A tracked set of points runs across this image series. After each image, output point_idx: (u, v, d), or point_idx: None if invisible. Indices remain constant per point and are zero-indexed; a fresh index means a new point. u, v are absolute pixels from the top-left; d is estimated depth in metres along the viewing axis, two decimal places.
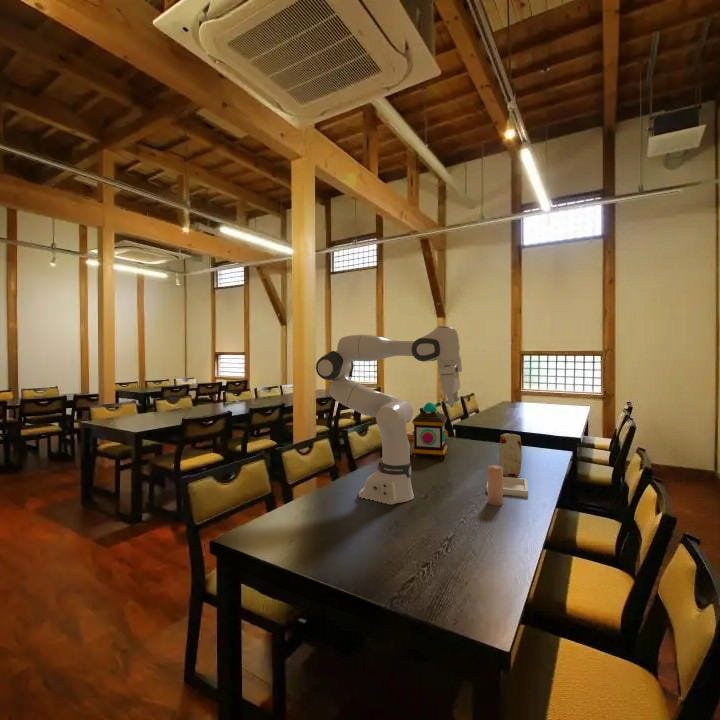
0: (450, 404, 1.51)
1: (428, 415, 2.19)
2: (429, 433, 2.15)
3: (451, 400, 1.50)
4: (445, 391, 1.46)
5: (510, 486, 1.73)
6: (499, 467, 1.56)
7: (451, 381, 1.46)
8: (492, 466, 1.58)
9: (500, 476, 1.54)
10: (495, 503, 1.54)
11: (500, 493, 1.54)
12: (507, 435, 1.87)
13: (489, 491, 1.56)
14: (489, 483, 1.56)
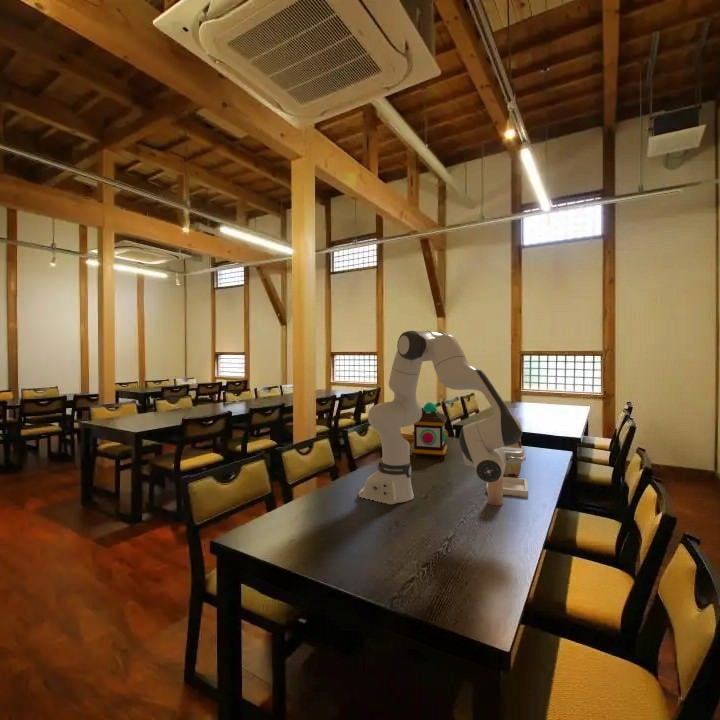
0: None
1: (428, 415, 2.19)
2: (429, 433, 2.15)
3: None
4: None
5: (510, 486, 1.73)
6: None
7: None
8: None
9: None
10: (495, 503, 1.54)
11: (500, 493, 1.54)
12: None
13: (489, 491, 1.56)
14: (489, 483, 1.56)
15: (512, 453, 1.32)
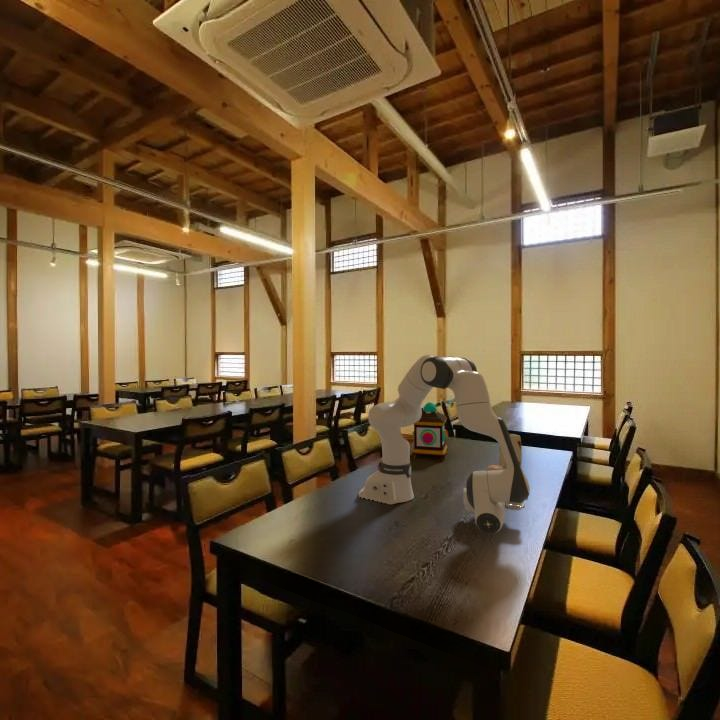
0: None
1: (428, 415, 2.19)
2: (429, 433, 2.15)
3: None
4: None
5: None
6: (499, 467, 1.56)
7: (463, 500, 1.43)
8: (492, 466, 1.58)
9: None
10: None
11: None
12: None
13: None
14: None
15: None
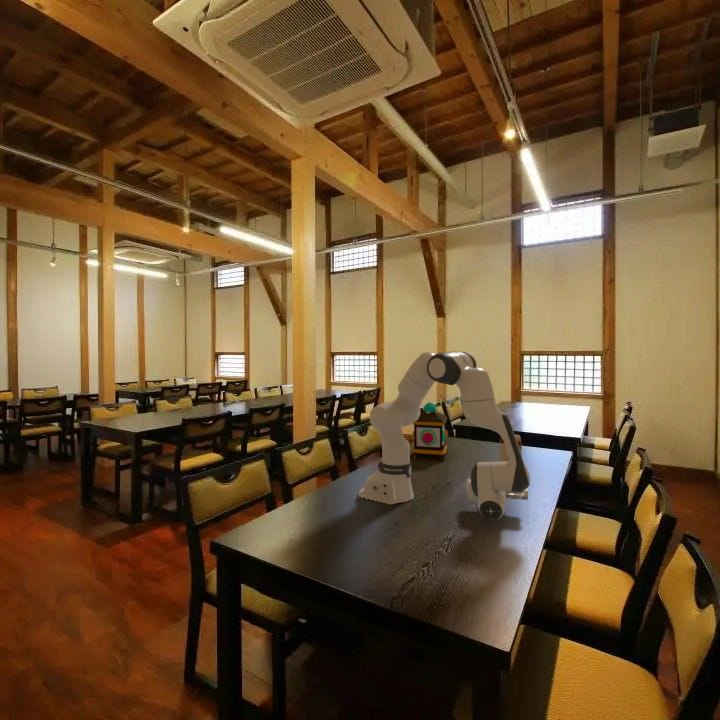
0: None
1: (428, 415, 2.19)
2: (429, 433, 2.15)
3: None
4: None
5: None
6: None
7: (467, 491, 1.52)
8: None
9: None
10: None
11: None
12: None
13: None
14: None
15: None
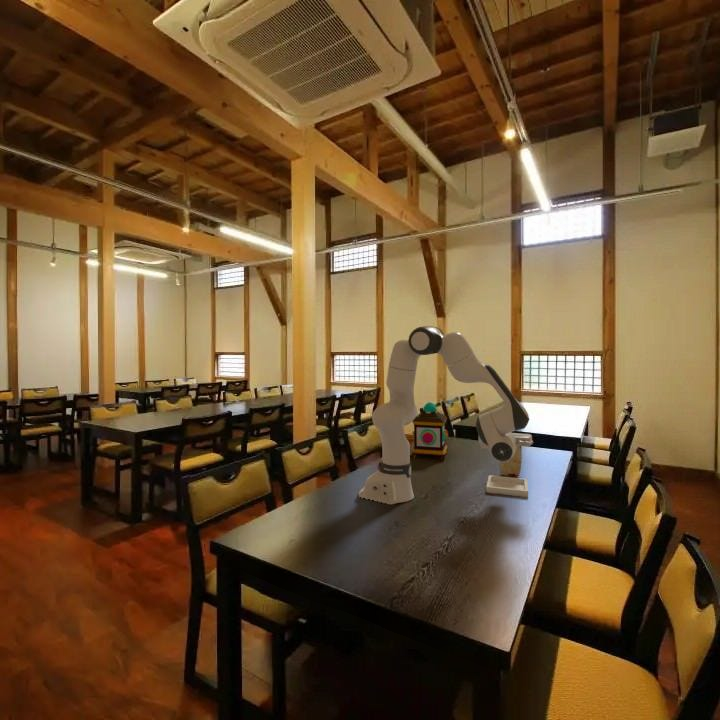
0: None
1: (428, 415, 2.19)
2: (429, 433, 2.15)
3: None
4: None
5: (510, 486, 1.73)
6: None
7: None
8: None
9: None
10: None
11: None
12: None
13: None
14: None
15: (521, 438, 1.55)
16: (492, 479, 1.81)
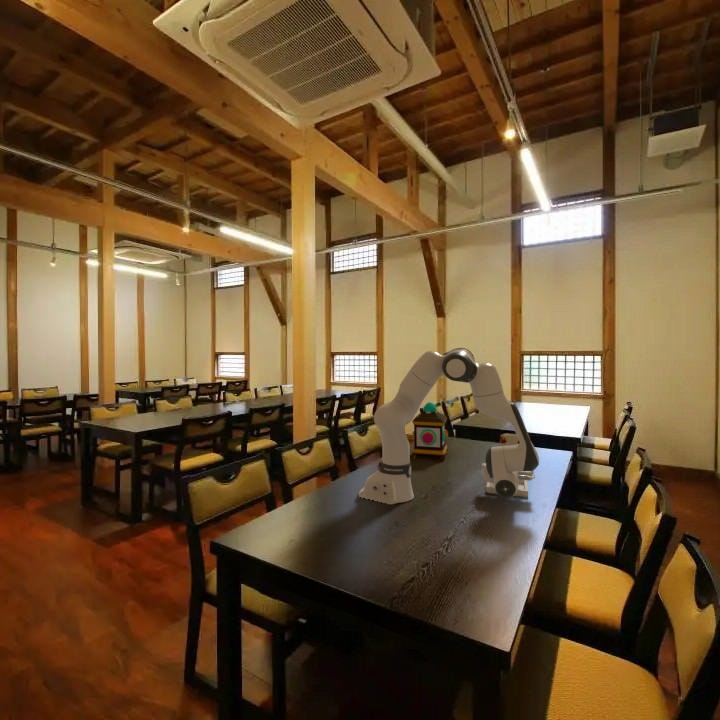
0: None
1: (428, 415, 2.19)
2: (429, 433, 2.15)
3: None
4: None
5: None
6: None
7: (482, 473, 1.68)
8: None
9: None
10: None
11: None
12: (507, 435, 1.87)
13: None
14: None
15: (523, 472, 1.59)
16: None
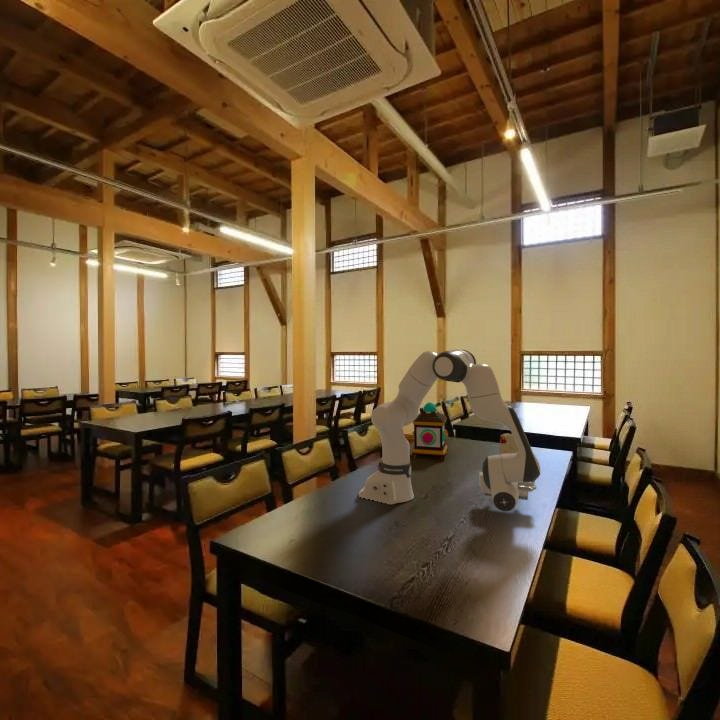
0: None
1: (428, 415, 2.19)
2: (429, 433, 2.15)
3: None
4: None
5: None
6: None
7: (479, 483, 1.56)
8: (504, 453, 1.73)
9: None
10: None
11: None
12: (507, 435, 1.87)
13: None
14: None
15: (524, 482, 1.47)
16: None
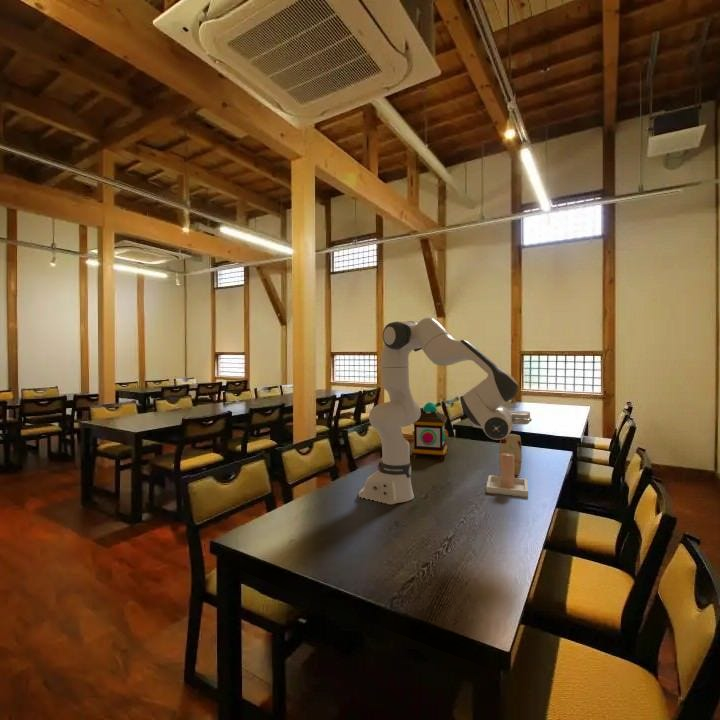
0: None
1: (428, 415, 2.19)
2: (429, 433, 2.15)
3: None
4: None
5: None
6: (511, 455, 1.71)
7: None
8: (504, 453, 1.73)
9: (512, 463, 1.70)
10: (507, 487, 1.70)
11: (512, 478, 1.70)
12: None
13: (502, 476, 1.71)
14: (502, 469, 1.71)
15: (518, 415, 1.37)
16: (492, 479, 1.81)
